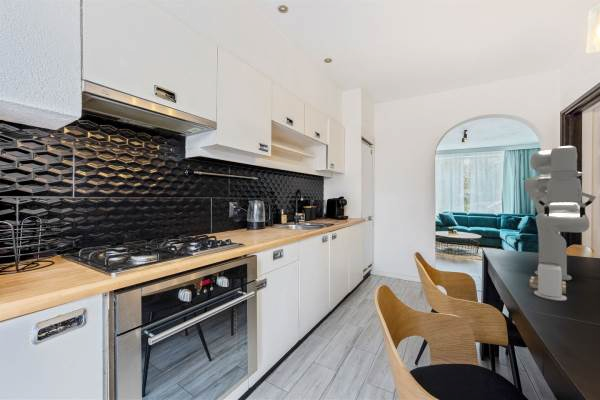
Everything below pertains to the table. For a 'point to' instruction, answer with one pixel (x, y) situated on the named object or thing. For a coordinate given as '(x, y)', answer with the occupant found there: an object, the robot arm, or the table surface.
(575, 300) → the table surface
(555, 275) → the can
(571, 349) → the table surface
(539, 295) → the coaster
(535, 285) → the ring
